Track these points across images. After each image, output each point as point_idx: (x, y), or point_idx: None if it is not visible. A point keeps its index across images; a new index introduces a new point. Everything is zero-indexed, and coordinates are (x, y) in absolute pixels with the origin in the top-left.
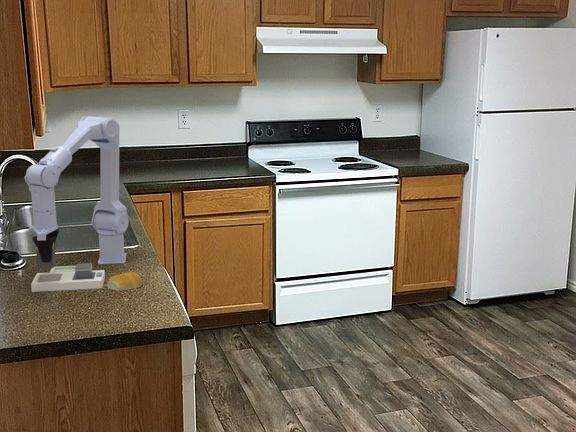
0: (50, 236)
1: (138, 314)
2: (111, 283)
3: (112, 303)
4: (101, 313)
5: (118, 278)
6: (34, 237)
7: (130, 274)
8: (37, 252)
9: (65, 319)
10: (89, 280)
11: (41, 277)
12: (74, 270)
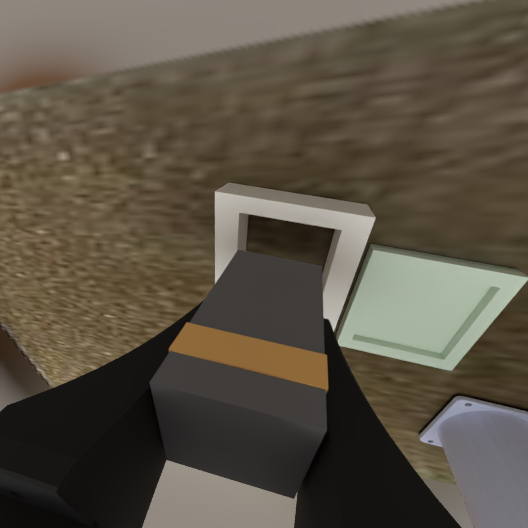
0: (305, 518)
1: (89, 370)
2: None
3: None
4: (83, 328)
5: None
6: (1, 478)
7: None
8: (197, 317)
9: (38, 265)
10: None
11: (339, 230)
12: (427, 335)
